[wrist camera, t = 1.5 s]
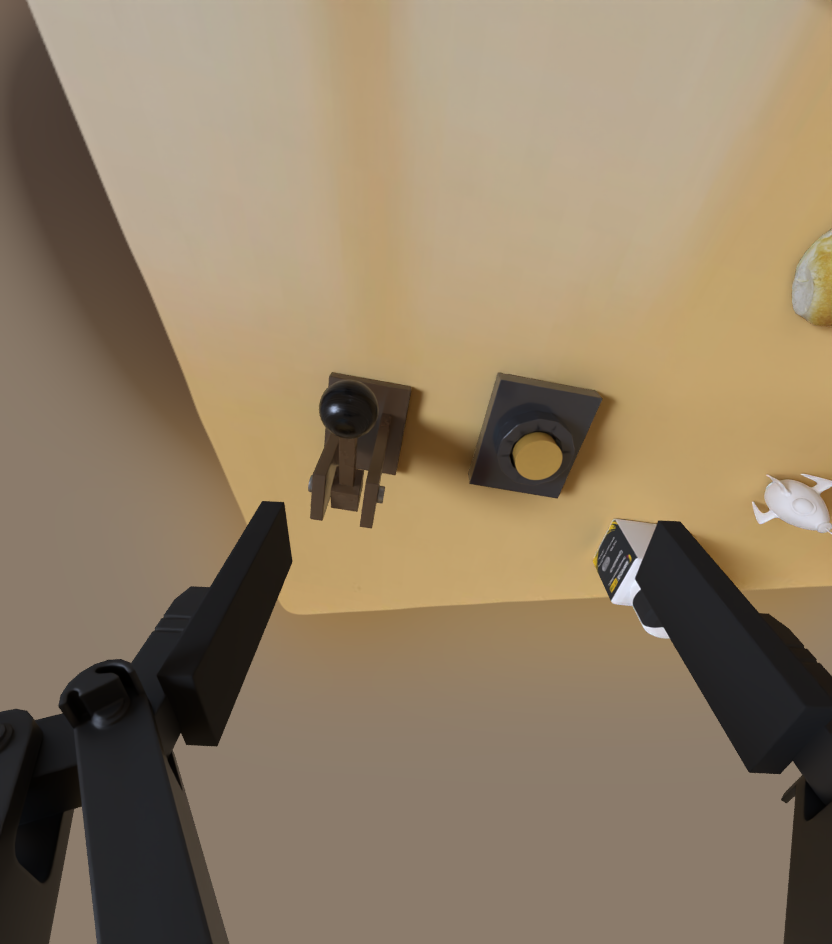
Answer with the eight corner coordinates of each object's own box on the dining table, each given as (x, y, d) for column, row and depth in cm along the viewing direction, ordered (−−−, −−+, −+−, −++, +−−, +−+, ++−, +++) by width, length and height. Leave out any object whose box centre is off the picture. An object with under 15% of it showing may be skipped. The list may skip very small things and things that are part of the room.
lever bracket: (331, 371, 41) (293, 437, 30) (411, 386, 42) (404, 456, 30) (325, 457, 47) (290, 542, 35) (396, 469, 47) (385, 556, 36)
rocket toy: (759, 466, 46) (815, 510, 39) (811, 466, 46) (877, 510, 39) (740, 506, 49) (790, 554, 42) (789, 506, 48) (846, 554, 42)
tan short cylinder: (520, 428, 40) (523, 436, 39) (564, 436, 40) (569, 445, 39) (506, 466, 42) (509, 476, 41) (548, 473, 43) (552, 483, 41)
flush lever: (325, 362, 25) (311, 407, 23) (384, 372, 25) (375, 418, 23) (330, 475, 36) (320, 512, 34) (371, 482, 36) (364, 519, 35)
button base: (497, 372, 41) (504, 387, 38) (595, 390, 42) (610, 407, 38) (468, 474, 47) (470, 494, 44) (553, 488, 48) (562, 509, 45)
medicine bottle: (612, 517, 50) (659, 596, 40) (670, 524, 50) (730, 605, 40) (590, 560, 54) (628, 642, 44) (644, 566, 54) (693, 650, 44)
